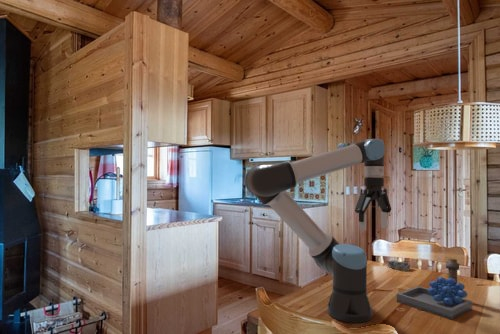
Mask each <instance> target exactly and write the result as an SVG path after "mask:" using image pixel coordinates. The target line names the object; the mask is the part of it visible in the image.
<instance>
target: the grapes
mask: <svg viewBox="0 0 500 334" xmlns="http://www.w3.org/2000/svg"><path fill="white" fill-rule="evenodd" d="M428 285H429V286H430V287H429V288H427V289H428V292H429V293H430V294H431V295H434V296H433V298H434V300H436V301H438V302H441V301H443V302H444V303H445V304H446V305H452V304H453V302H455V303H457V304H460V303H462V302H463V299H466V297H467V296H468V292H467V291H465V287H466V286H465V285H464V284H463V282H457V283H456V280H455V279H454V278H448V277H447V278H444V277H442V276H439V277H437V278H436V280H431V281H429V283H428ZM461 297H462V298H463V299H462V298H461Z"/></svg>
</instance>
